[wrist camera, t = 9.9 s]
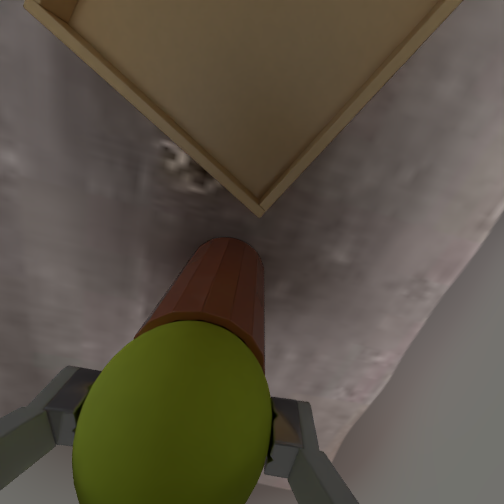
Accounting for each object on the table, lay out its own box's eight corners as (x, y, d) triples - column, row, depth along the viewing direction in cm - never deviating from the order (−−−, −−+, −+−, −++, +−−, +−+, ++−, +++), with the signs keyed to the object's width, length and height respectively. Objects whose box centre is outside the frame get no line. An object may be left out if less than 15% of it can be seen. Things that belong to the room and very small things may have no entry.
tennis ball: (189, 261, 10) (70, 434, 4) (297, 344, 11) (336, 561, 5) (115, 345, 12) (-35, 542, 6) (215, 406, 13) (176, 611, 7)
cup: (221, 221, 17) (181, 284, 9) (279, 270, 18) (293, 366, 10) (175, 273, 19) (107, 366, 11) (231, 314, 20) (209, 426, 12)
